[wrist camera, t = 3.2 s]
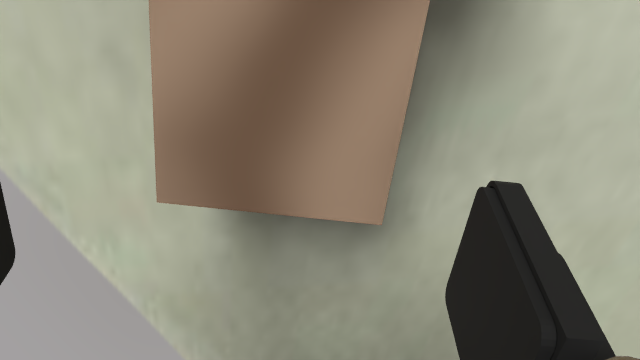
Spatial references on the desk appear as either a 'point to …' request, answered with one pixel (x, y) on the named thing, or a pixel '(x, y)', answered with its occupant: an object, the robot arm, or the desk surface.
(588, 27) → the desk surface
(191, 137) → the brown open box
